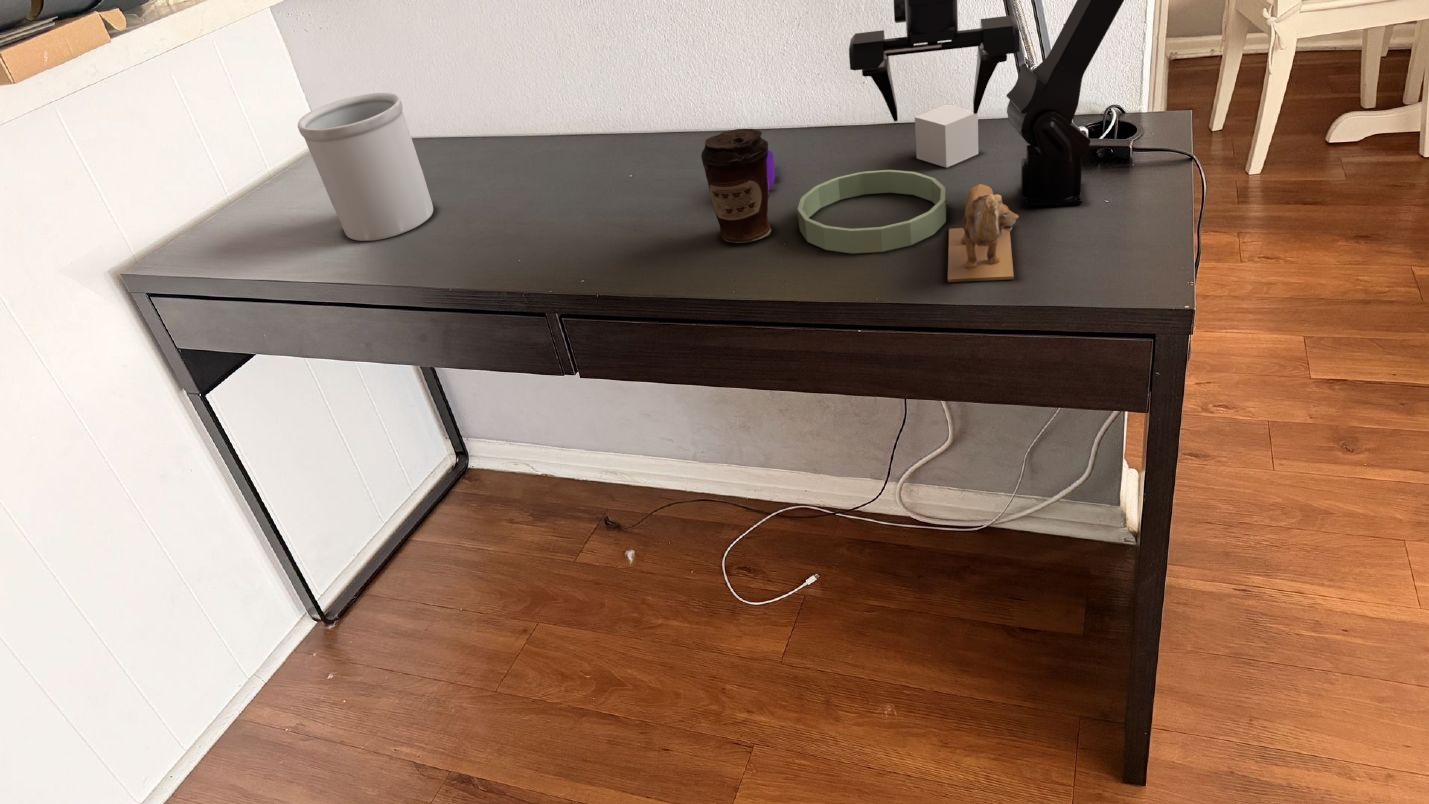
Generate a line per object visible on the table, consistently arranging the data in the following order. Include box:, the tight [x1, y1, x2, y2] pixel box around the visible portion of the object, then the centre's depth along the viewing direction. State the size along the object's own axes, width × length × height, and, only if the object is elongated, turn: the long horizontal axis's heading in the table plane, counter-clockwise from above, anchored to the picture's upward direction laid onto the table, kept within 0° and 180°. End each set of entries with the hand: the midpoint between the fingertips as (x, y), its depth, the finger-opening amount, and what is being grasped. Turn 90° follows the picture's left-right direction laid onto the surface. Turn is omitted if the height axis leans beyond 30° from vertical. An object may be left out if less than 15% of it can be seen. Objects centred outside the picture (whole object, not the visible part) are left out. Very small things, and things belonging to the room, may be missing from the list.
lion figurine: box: [961, 183, 1019, 268], centre depth 115 cm, size 15×5×9 cm, turn 179°
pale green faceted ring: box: [796, 169, 947, 254], centre depth 129 cm, size 18×18×3 cm
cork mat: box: [947, 227, 1014, 283], centre depth 118 cm, size 7×13×1 cm, turn 169°
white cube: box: [914, 103, 979, 168], centre depth 142 cm, size 6×6×6 cm
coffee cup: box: [700, 128, 772, 244], centre depth 129 cm, size 9×8×13 cm
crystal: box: [767, 149, 776, 191], centre depth 145 cm, size 5×5×15 cm
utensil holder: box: [297, 92, 434, 242], centre depth 151 cm, size 15×15×18 cm
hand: (935, 116), depth 121 cm, fingers open, 9 cm apart
